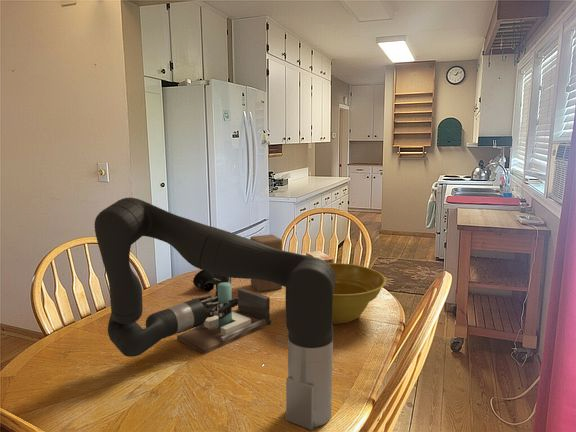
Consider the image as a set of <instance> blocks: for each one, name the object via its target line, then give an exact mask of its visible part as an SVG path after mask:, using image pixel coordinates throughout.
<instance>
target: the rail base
mask: <svg viewBox="0 0 576 432" xmlns="http://www.w3.org/2000/svg"><path fill="white" fill-rule="evenodd" d="M237 299H238V305H237V309H234V310H232V311H233V312H235V313H238V314H240V315H243V316H245V317H248V318H250V319H251V324H250V325H248V326H246V327H243V328H241V329H239V330H236V331H234V332H232V333H229V334H227V335H225V336H223V335H221V328H219V325H218V326H215V327H213V328H210V329H208V328H206V327H204V323H203V324H202V325H200V326H197V327H195V328H192V329H189V330H187V331H184V332H181V333H179V334H177V335H176V339H177V341H179V342H181V343H183V344H185V345H187V346H189V347H191V348H193V349H194V350H196V351H199V352H200V353H203V354H204V355H206V354H208V353H210V352H212V351H215V350H217V349H220V348H222V347H224V346H226V345H228V344H231V343H232V342H235V341H236V340H239V339H241V338H244V337H246V336H248V335H250V334H252V333H254V332H256V331H257V332H258V331H259V330H262V329H264V328H266V327H268V326H270V325H272V323H273V322H272V321H273V320H272V319H271V317H270V314H271V312H270V311H271V310H270V305H271V304H270V297H269V296H267V295H264V294H260V293H257V292H254V291H251V290H248V289H246V288H242V287H241V288H237Z"/></svg>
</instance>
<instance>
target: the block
mask: <svg viewBox="0 0 576 432" xmlns="http://www.w3.org/2000/svg"><path fill="white" fill-rule="evenodd" d="M250 240H253V241H256V242H259V243H262V244H264V245H267V246H270V247H272V248H275V249H279V250H283V240H282V238H280V237H278V236H276V235H274V234H264V235H253V236H251V237H250ZM250 285H251V286H253V288H255V290H257V291H258V292H260V293H261V292H265V291H266V292H267V291H273V290H279V289H283V286H282V285H279V284H276V283H273V282H270V281H266V280H260V279H250Z"/></svg>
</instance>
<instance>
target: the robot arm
mask: <svg viewBox="0 0 576 432" xmlns="http://www.w3.org/2000/svg"><path fill="white" fill-rule="evenodd" d="M94 233H95V238H96V241H97V244H98V245H97V246H98V248H99V252H100V256H101V260H102V263H103V267H104V270H105V274H106V278H107V281H108V289H109V298H110V299H109V300H110V316H109V320H108V324H107V335H108V337H109V340H110V341H111V343H112V344H113V345H114V346H115V347H116V348H117V349H118V351H119V352H120V353H121V354H122V355H124V356H125V357H130V358H132V357H137V356H138V357H139V356H140V355H142V354H144V353H145V352H146V351H147V350H149V349H150V348H152V347H153V346H155V345H156V344H157V343H158V342H161V340H163V339H166V338H168V337H171V336H174V335H176V334H177V335H178V334H182V333H185V332H187V331H190V330H192V329H195V328H196V327H197V326H200V325H202V324H203V323H204V322H205V320H206V319H208V318H211V317H213V316H218V318H219V319H223V318H224V317H226V316H227V315H228V314H230V313H231V308H232V309H233V308H234V307H236V306H237V307H238V297H237V298H236V297H235V298H232V299H231V300H229V301H226V302H220V301H218V297H215V296H213V297H212V296H211V295H208V296H207V295H205V296H202V297H196V298H192V299H190V300H187V301H184V302H181V303H177V304H175V305H172V306H170V307H168V308H165V309H163V310H160V311H156V312H154V313H151V314H149V315H148V316H147V318H146V320H145V327H144V328H142V327H141V326H140V325H139V323H138V321H139V319H140V318H141V317H142V314H143V288H142V284H141V281H140V279H139V277H138V276H137V275H136V273H135V272H134V271H133V269H132V268H131V264H130V263H131V261H130V255H131V247H132V245H134V243H136V242H137V241H138V240H140V239H141V238H142V237H147V238H148V237H149V238H152V239H156V240H159V241H162V242H164V243H166V244H168V245H170V246H171V247H173V248H174V249H175V250H176V251H177V252H178V254H179V255H180V256H181V257H182V259H184V260H185V261H186V262H187V263H189V264H190V265H191V266H193V267H195V268H197V269H199V270H200V271H201V270H204V271H207V272H210V273H213V274H216V275H220V276H224V277H230V278H231V279H245V280H246V279H247V280H251V279H260V280H266V281H270V282H273V283H276V284H279V285H282V287H285V325H286V329H287V378H286V379H285V386H286V387H285V389H286V391H285V394H286V395H285V408H286V409H285V420H286V421H288V422H289V423H292V424H295V425H298V426H300V427H303V428H305V429H308V430H310V431H313V430H314V429H315V428H317V427H320V426H323V425H325V424H327V423H328V422H329V421H330V419H331V417H332V404H333V403H332V402H333V401H332V398H333V357H334V356H333V355H334V353H333V352H334V325H333V323H332V311H333V291H334V287H335V282H336V277H335V273H334V271H333V269H332V268H331V266H330V265H329V264H328V263H326V262H325V261H323V260H321V259H319V258H316V257H311V256H306V255H301V254H302V253H296V252H291V251H286V250H283V249H282V250H279V249H275V248H272V247H270V246H267V245H264V244H262V243H259V242H256V241H253V240H250V239H249V238H247V237H244V236H241V235H237V234H236V233H233V232H230V231H227V230H225V229H220V228H217V227H215V226H211V225H208V224H204V223H200V222H198V221H195V220H192V219H189V218H186V217H184V216H180V215H177V214H176V213H175V214H174V213H172V212H169V211H167V210H164V209H163V208H160V207H158V206H157V205H153V204H151V203H149V202H146V201H144V200H143V199H139V198H136V197H124V198H121V199H119V200H117V201H115V202H114V203H112V204H111V205H109V206H107V207H106V208H104V209H102V210H101V211H100V212H99V213H98V214H96V217H95V220H94ZM223 305H225V306H224V307H222V306H223Z"/></svg>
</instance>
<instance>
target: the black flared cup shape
mask: <svg viewBox="0 0 576 432" xmlns="http://www.w3.org/2000/svg"><path fill="white" fill-rule="evenodd" d="M212 274H213V273H210V272H207V271H204V270H201V269H200V271H198V272H197V273H196V274H195V276H194V277H193V281H192V282H193V283H192V284H193V285H194V287H195V288H197V289H198V290H200V291H204V292H212V291H214V288H215V286H216V285H215V284H213V283H212Z"/></svg>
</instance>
